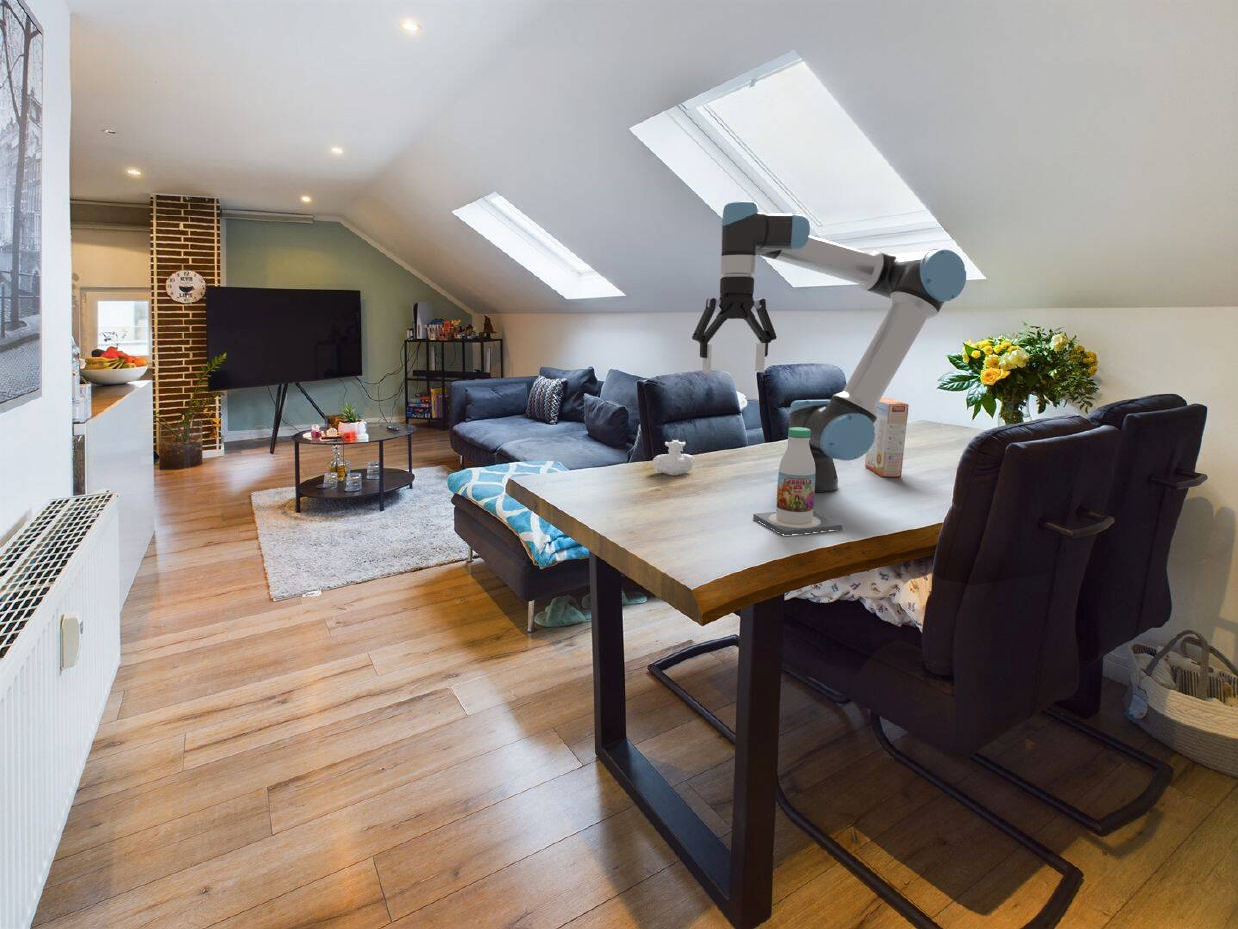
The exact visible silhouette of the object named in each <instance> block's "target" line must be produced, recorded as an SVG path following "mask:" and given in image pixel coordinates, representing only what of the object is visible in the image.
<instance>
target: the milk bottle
mask: <svg viewBox="0 0 1238 929" xmlns="http://www.w3.org/2000/svg"><path fill="white" fill-rule="evenodd" d="M810 436H811V430H810V429H808V428H801V427H794V428H789V427H788V430H787V440H788V439H789V443H788V442H787V447H786V449H785V451H784V453H783V456H782V457H781V459H780V462H779V466H778V474H777V476H778V477H777V491H776V510H775V512H776V517H777V519H778V520H779V521H782V522H785V523H790V524H806V523H809V522H811V521H812V518H813V511H814V505H815V493H816V492H815V462H814V459H813V456H812V454H811V451H810V447H809V440H810Z"/></svg>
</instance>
